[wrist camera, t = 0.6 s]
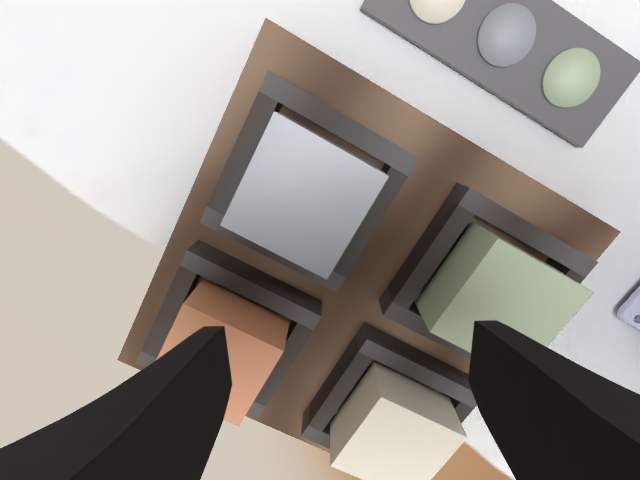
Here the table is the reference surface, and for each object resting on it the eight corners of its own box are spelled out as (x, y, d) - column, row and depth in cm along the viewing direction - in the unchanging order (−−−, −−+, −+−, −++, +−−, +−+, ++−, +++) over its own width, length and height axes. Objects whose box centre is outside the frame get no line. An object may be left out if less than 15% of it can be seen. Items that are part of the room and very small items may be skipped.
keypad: (589, 220, 18) (648, 242, 15) (398, 456, 23) (411, 511, 20) (273, 31, 16) (258, 5, 12) (136, 338, 21) (100, 379, 17)
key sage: (554, 268, 16) (593, 292, 13) (493, 343, 17) (519, 377, 15) (472, 221, 15) (498, 238, 13) (415, 302, 16) (429, 331, 14)
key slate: (379, 168, 14) (389, 176, 12) (326, 257, 16) (326, 279, 13) (282, 113, 14) (274, 111, 12) (236, 210, 15) (220, 225, 13)
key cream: (449, 397, 18) (467, 437, 16) (401, 456, 19) (412, 501, 17) (374, 361, 17) (381, 397, 15) (330, 423, 18) (330, 465, 16)
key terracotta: (289, 320, 17) (283, 351, 14) (249, 388, 18) (238, 426, 16) (203, 278, 16) (182, 303, 14) (168, 351, 17) (144, 385, 15)
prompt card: (637, 66, 16) (648, 64, 15) (576, 147, 17) (585, 147, 16) (410, -90, 14) (414, -99, 14) (360, 10, 15) (361, 6, 15)
